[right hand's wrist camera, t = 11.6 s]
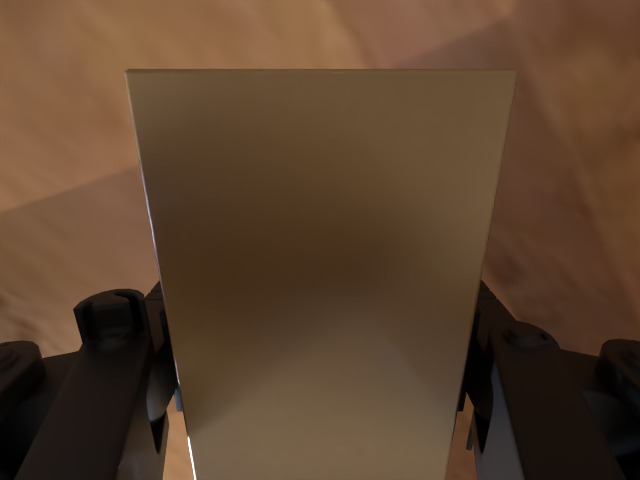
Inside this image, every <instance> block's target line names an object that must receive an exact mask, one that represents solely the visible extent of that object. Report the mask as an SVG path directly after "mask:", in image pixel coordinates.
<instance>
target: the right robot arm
mask: <svg viewBox="0 0 640 480" xmlns="http://www.w3.org/2000/svg"><path fill="white" fill-rule="evenodd" d="M73 311H74V314H75V318H76V321H77V325H78V328H79V332H80V336H81V339H82V343H83V344H82V346H81V348H80V350H79V351H77V352H72V353H67V354H62V355H57V356H52V357H47V358H42V355H41V352H40V349H39V346H38V345H36V344H35V343H34V342H30V341H14V342H5V343H1V344H0V480H162V479H163V471H164V462H165V454H166V446H167V438H168V430H169V421H168V415H167V410H166V408H167V406H168V404H169V402H170V400H171V398H172V396H173V394H174V396H175V402H176V407H177V411H183V408H182V403H181V397H180V391H179V385H178V380H177V374H176V368H175V363H174V357H173V351H172V345H171V340H170V334H169V328H168V322H167V317H166V311H165V305H164V299H163V294H162V288H161V282H160V281H159V282H158V283H157V284H156V285H155V286H154V288H153V289H152V290H151V293H148V295H147V296H146V297H145V298H144V294H142V293H141V292H140V291H138V290H133V289H115V290H110V291H104V292H101V293H98V294H95V295H93V296H90V297H88V298H87V299H85V300H83V301H81V302H80V303H79V304H78V305H77V306H76V307H75V308H74V309H73ZM466 392H467V393H468V396H469V398H470V400H471V402H472V404H473V406H474V410H473V415H472V420H471V425H470V430H469V435H468V441H467V447H466V449H467V450H471V449H472V444H473V445H474V453H475V461H476V470H477V478H478V480H640V341H635V340H625V339H613V340H608V341H606V342H605V343H604V344H602V347H601V350H600V353H599V356H598V357H597V356H592V355H587V354H582V353H577V352H571V351H567V350H563V349H560V347H559V345H558V343H557V342H556V340H555V339H554V338H553V337H552V336H551V335H550V334H548V333H547V332H545V331H544V330H542V329H541V328H538V327H536V326H534V325H531V324H529V323H524V322H520V321H516V320H515V318H514V317H513V316H512V315H511V314H510V313H509V311H508V310H507V309H506V308H505V307H504V306H503V304H502V303H501V302H500V301H499V300H498V299H496V296H495V295H494V294H493V293H492V292H491V291H490V289H489V288H488V287H487V286H486V284H485V283H484V282H483V281H482V280H481V281H480V287H479V293H478V298H477V304H476V309H475V315H474V321H473V326H472V332H471V338H470V343H469V349H468V354H467V360H466V366H465V371H464V377H463V383H462V388H461V394H460V399H459V405H458V411H463V409H464V403H465V398H466Z"/></svg>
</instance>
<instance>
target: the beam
mask: <svg viewBox="0 0 640 480" xmlns="http://www.w3.org/2000/svg"><path fill="white" fill-rule="evenodd" d="M124 76H125V81H126V87H127V93H128V99H129V104H130V110H131V116H132V122H133V127H134V133H135V139H136V144H137V150H138V156H139V162H140V167H141V173H142V179H143V185H144V190H145V196H146V202H147V208H148V213H149V219H150V225H151V231H152V236H153V242H154V248H155V253H156V259H157V265H158V271H159V276H160V282H161V288H162V294H163V299H164V305H165V311H166V317H167V322H168V328H169V334H170V340H171V345H172V351H173V357H174V363H175V368H176V374H177V380H178V385H179V391H180V397H181V403H182V408H183V414H184V420H185V426H186V431H187V437H188V443H189V449H190V454H191V460H192V466H193V472H194V477H195V480H445V478H446V473H447V467H448V461H449V456H450V450H451V444H452V439H453V433H454V428H455V422H456V416H457V411H458V405H459V399H460V394H461V388H462V383H463V377H464V371H465V366H466V360H467V354H468V349H469V343H470V338H471V332H472V326H473V321H474V315H475V309H476V304H477V298H478V293H479V287H480V281H481V276H482V270H483V264H484V259H485V253H486V248H487V242H488V236H489V231H490V225H491V219H492V214H493V208H494V203H495V197H496V191H497V186H498V180H499V174H500V169H501V163H502V158H503V152H504V146H505V141H506V135H507V129H508V124H509V118H510V113H511V107H512V101H513V96H514V90H515V84H516V79H517V72H516V71H515V70H513V69H128V70H126V71H125V74H124Z"/></svg>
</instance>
